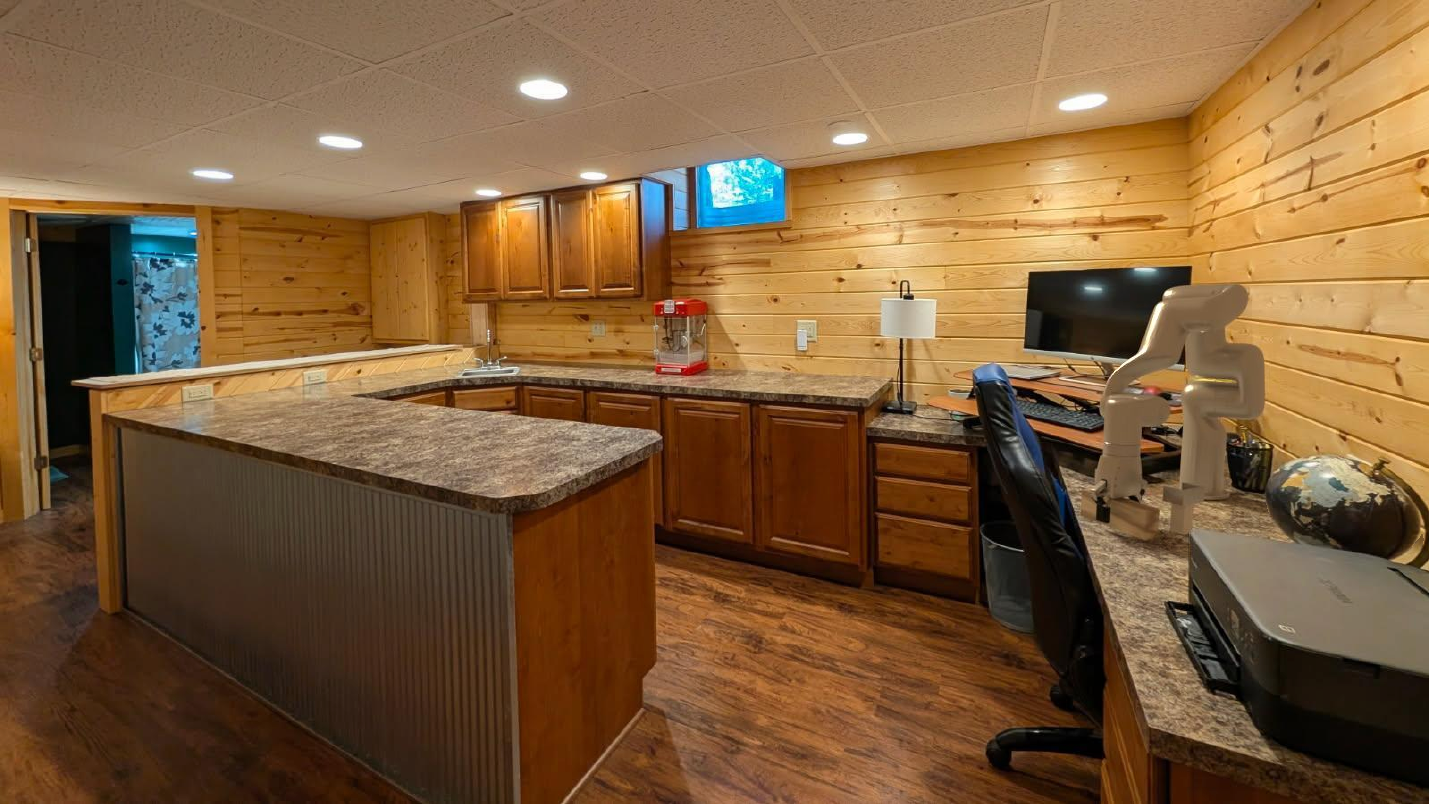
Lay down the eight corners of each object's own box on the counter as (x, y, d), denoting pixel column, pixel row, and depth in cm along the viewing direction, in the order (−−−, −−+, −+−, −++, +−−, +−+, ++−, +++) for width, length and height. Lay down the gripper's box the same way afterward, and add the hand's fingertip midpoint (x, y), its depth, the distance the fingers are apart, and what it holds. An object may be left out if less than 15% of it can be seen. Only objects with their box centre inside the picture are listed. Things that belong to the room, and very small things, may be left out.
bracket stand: (1112, 506, 164) (1114, 465, 162) (1201, 532, 143) (1204, 486, 141) (1093, 509, 162) (1095, 468, 160) (1180, 537, 141) (1184, 490, 139)
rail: (1093, 514, 158) (1094, 488, 158) (1158, 538, 141) (1160, 509, 140) (1080, 516, 158) (1081, 489, 157) (1143, 540, 140) (1145, 511, 139)
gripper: (1132, 443, 153) (1128, 509, 155) (1080, 450, 147) (1077, 519, 150) (1163, 448, 146) (1158, 518, 148) (1109, 457, 140) (1105, 528, 143)
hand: (1117, 518), depth 149 cm, fingers open, 9 cm apart
